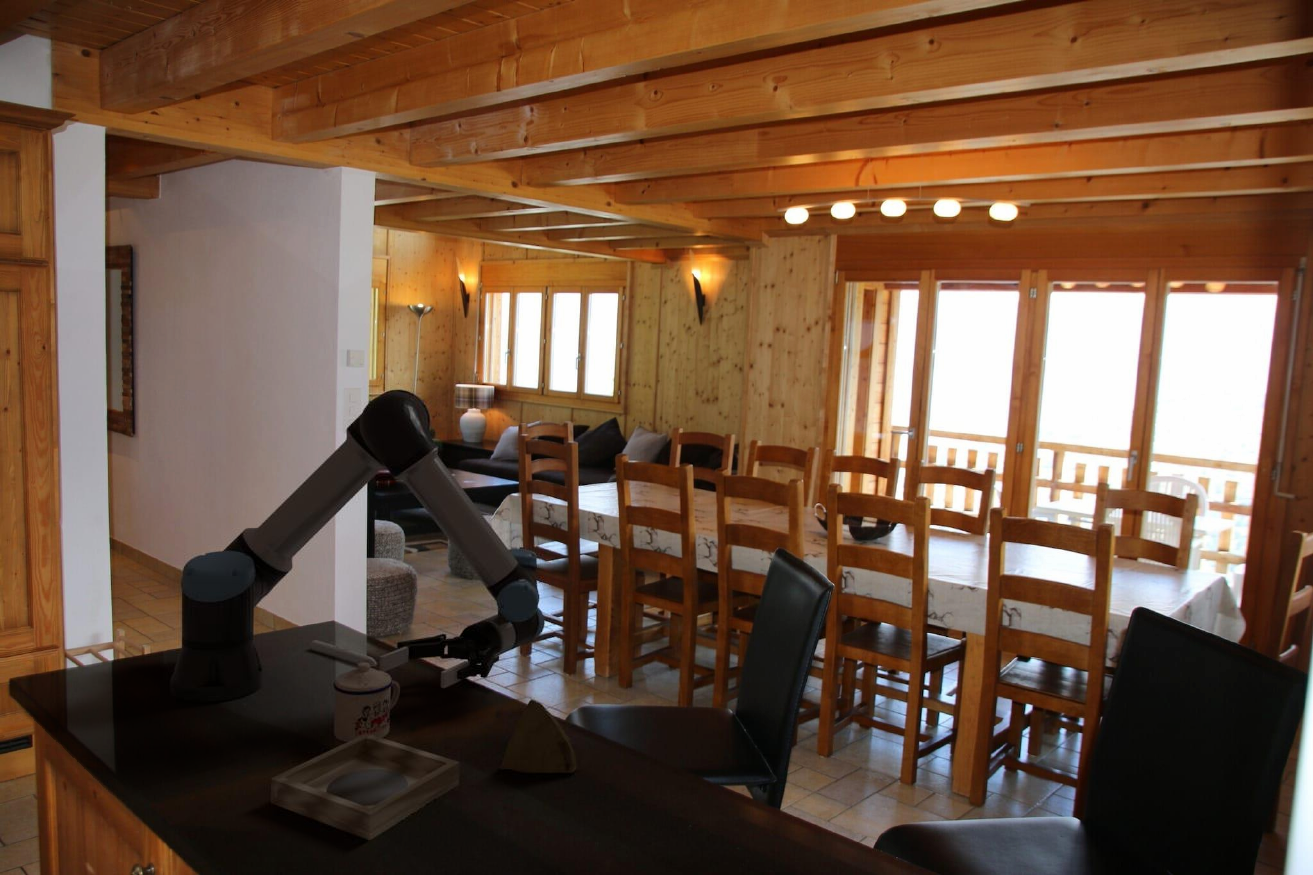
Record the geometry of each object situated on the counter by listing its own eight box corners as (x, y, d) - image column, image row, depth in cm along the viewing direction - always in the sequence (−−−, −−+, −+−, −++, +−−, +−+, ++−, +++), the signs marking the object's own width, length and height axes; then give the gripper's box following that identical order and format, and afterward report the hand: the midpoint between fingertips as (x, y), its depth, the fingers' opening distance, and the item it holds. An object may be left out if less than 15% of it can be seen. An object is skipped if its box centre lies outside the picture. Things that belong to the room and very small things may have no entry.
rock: (595, 751, 146) (549, 724, 151) (580, 720, 140) (533, 693, 146) (551, 809, 140) (505, 778, 146) (533, 779, 135) (486, 749, 140)
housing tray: (270, 802, 129) (271, 778, 128) (365, 754, 145) (366, 733, 144) (369, 840, 121) (370, 814, 120) (458, 785, 137) (459, 762, 137)
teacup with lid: (357, 750, 146) (359, 678, 145) (320, 734, 151) (321, 664, 150) (416, 726, 156) (418, 658, 155) (379, 712, 161) (381, 646, 160)
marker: (380, 668, 183) (380, 656, 183) (372, 671, 181) (372, 659, 181) (318, 648, 192) (318, 637, 192) (309, 651, 190) (309, 640, 190)
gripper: (540, 671, 176) (468, 708, 157) (435, 646, 187) (356, 678, 168) (541, 632, 175) (470, 665, 156) (436, 609, 186) (357, 637, 167)
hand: (411, 672), depth 162 cm, fingers open, 13 cm apart
